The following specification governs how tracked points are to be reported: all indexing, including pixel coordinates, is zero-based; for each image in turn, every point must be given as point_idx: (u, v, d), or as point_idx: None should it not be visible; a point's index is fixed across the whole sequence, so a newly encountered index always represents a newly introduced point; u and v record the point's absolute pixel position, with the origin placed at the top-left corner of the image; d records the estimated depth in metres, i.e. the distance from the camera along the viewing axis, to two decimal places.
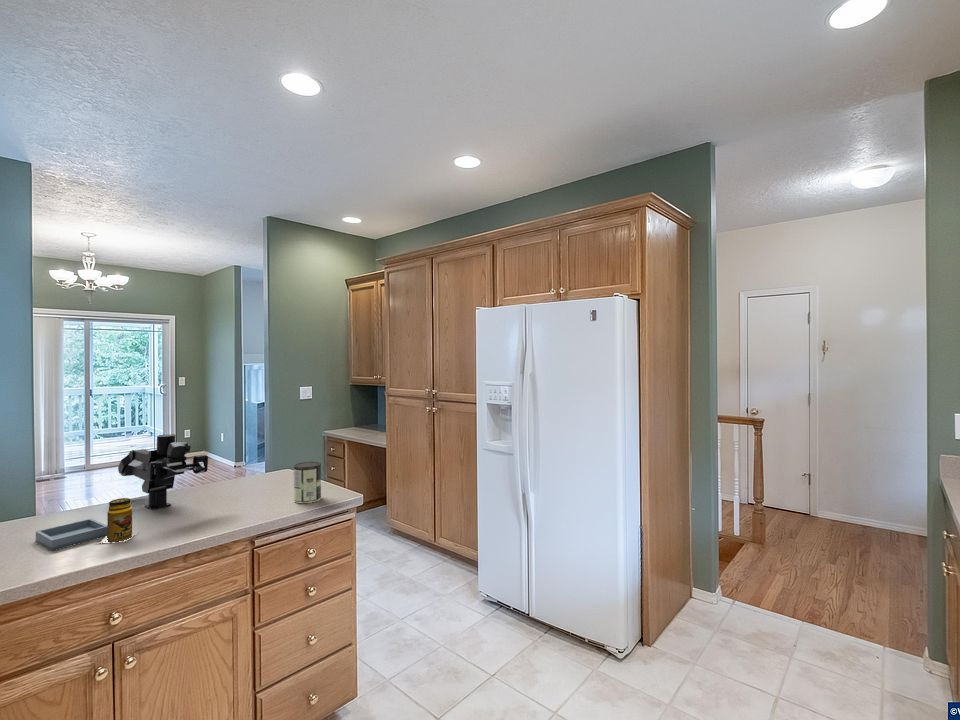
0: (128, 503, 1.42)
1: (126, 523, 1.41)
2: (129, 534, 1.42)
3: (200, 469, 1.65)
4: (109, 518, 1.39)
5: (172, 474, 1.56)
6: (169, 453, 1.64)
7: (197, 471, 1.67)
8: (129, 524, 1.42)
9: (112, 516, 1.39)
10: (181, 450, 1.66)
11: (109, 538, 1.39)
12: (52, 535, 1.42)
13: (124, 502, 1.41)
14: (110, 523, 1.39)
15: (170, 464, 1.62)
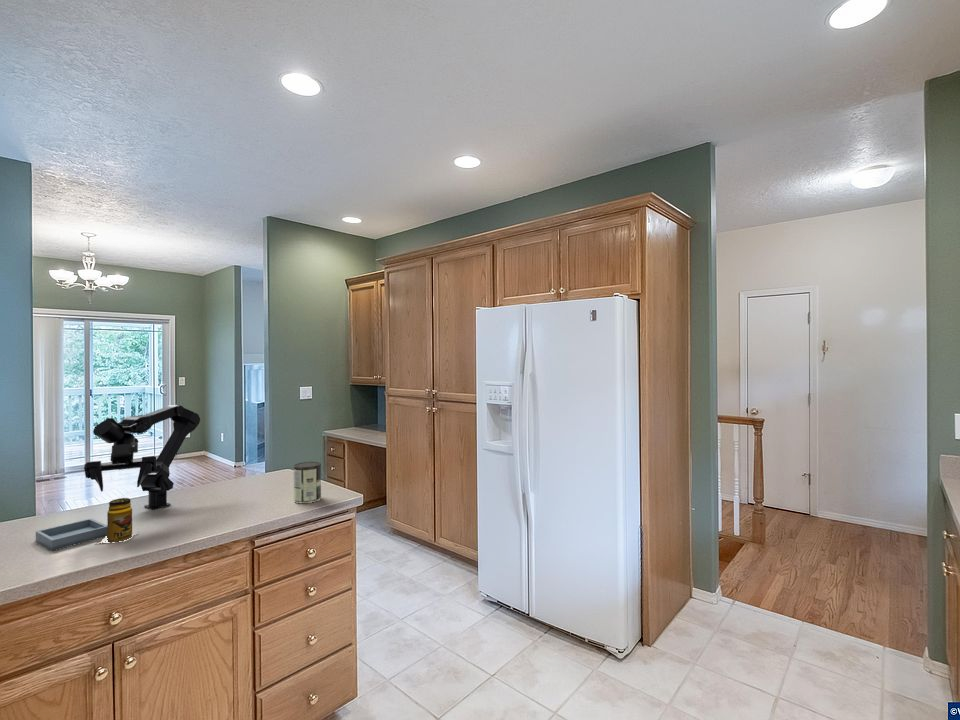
0: (128, 503, 1.42)
1: (126, 523, 1.41)
2: (129, 534, 1.42)
3: (138, 480, 1.53)
4: (109, 518, 1.39)
5: (100, 488, 1.47)
6: (112, 453, 1.51)
7: None
8: (129, 524, 1.42)
9: (112, 516, 1.39)
10: (124, 454, 1.52)
11: (109, 538, 1.39)
12: (52, 535, 1.42)
13: (124, 502, 1.41)
14: (110, 523, 1.39)
15: (111, 465, 1.52)
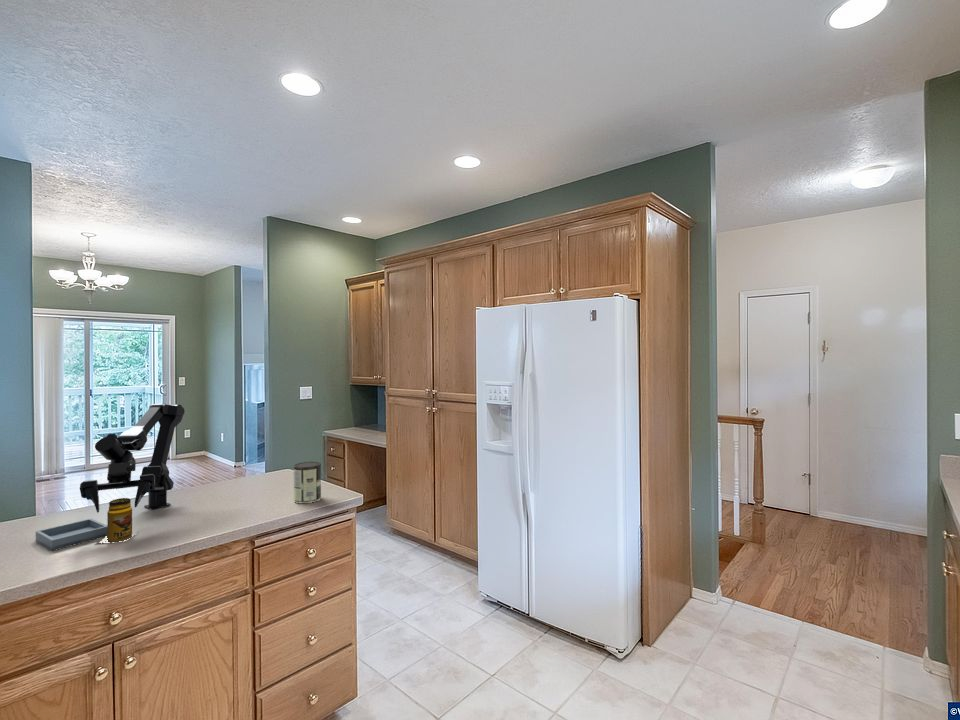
0: (128, 503, 1.42)
1: (126, 523, 1.41)
2: (129, 534, 1.42)
3: None
4: (109, 518, 1.39)
5: (96, 509, 1.41)
6: None
7: None
8: (129, 524, 1.42)
9: (112, 516, 1.39)
10: (121, 473, 1.46)
11: (109, 538, 1.39)
12: (52, 535, 1.42)
13: (124, 502, 1.41)
14: (110, 523, 1.39)
15: (107, 484, 1.46)
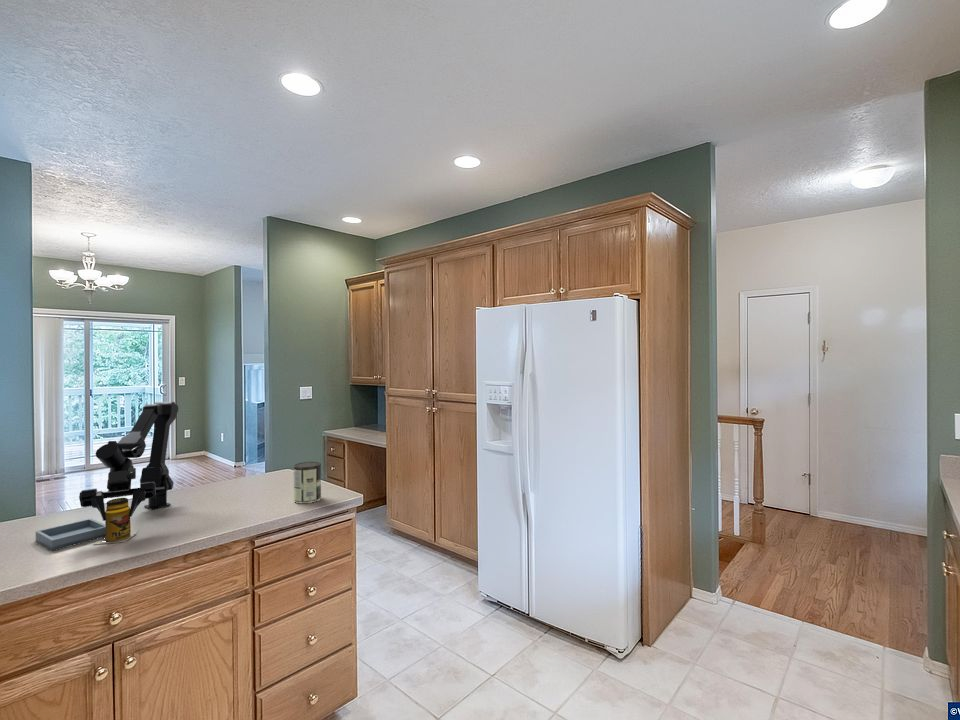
0: (125, 503, 1.42)
1: (124, 522, 1.41)
2: (127, 534, 1.42)
3: None
4: (107, 518, 1.39)
5: (102, 517, 1.40)
6: None
7: None
8: (127, 523, 1.42)
9: (110, 516, 1.39)
10: (121, 481, 1.44)
11: (107, 538, 1.39)
12: (52, 535, 1.42)
13: (121, 502, 1.41)
14: (108, 523, 1.39)
15: (107, 492, 1.44)
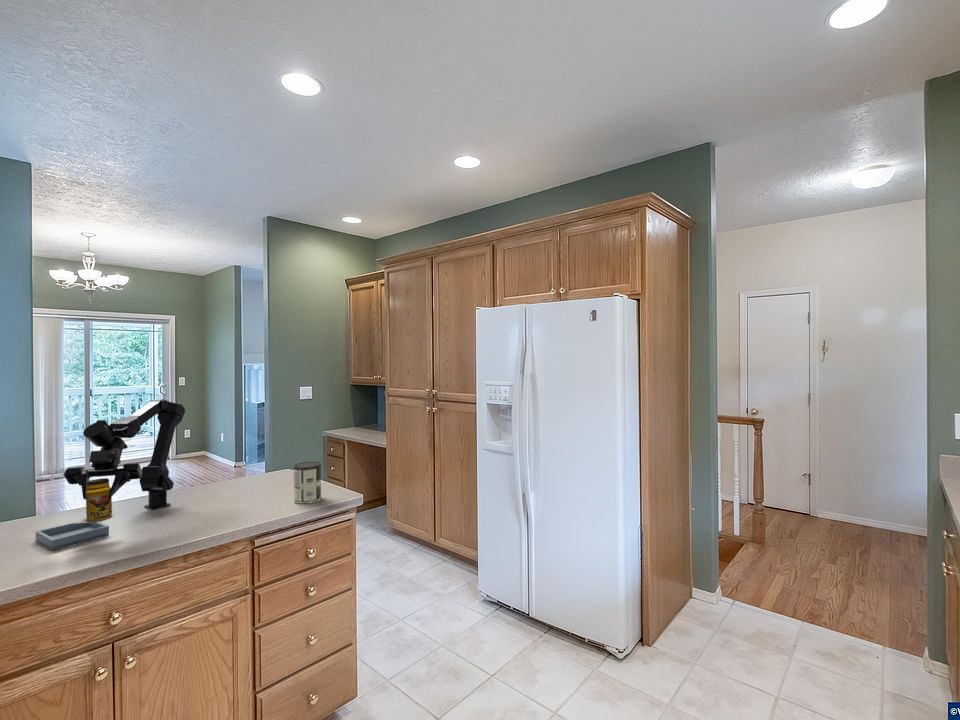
0: (105, 483, 1.41)
1: (103, 503, 1.40)
2: (107, 514, 1.41)
3: None
4: (86, 497, 1.39)
5: None
6: None
7: None
8: (106, 504, 1.41)
9: (88, 495, 1.38)
10: (103, 460, 1.43)
11: (87, 518, 1.39)
12: (52, 535, 1.42)
13: (100, 482, 1.40)
14: (87, 503, 1.38)
15: (92, 471, 1.44)
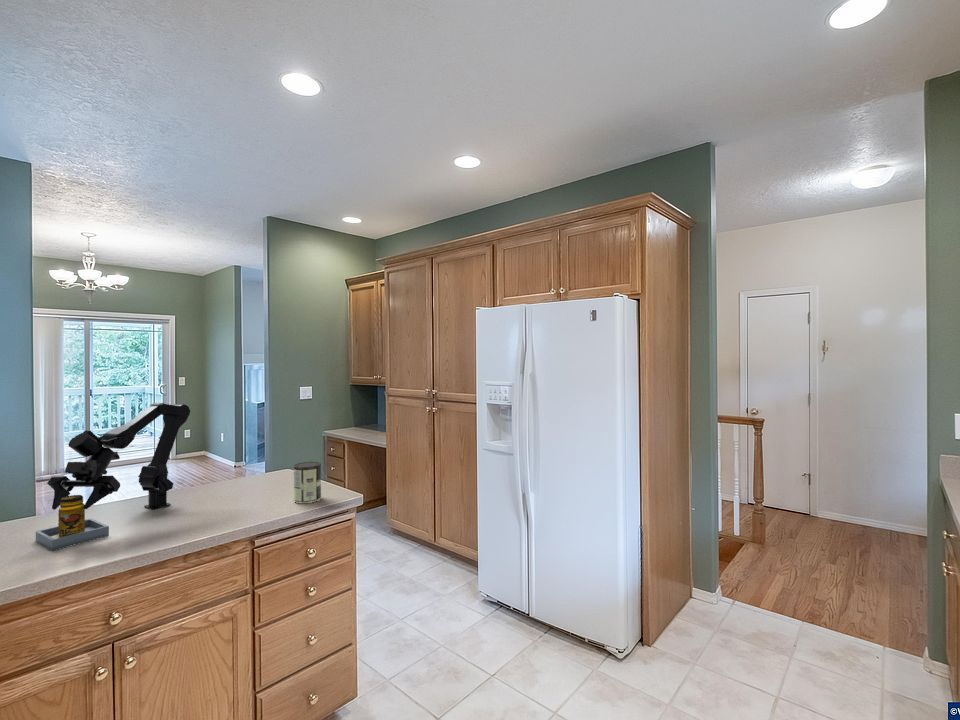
0: (75, 501, 1.41)
1: (71, 521, 1.40)
2: (75, 533, 1.40)
3: None
4: (58, 514, 1.40)
5: None
6: None
7: None
8: (75, 522, 1.40)
9: (59, 512, 1.39)
10: (79, 472, 1.44)
11: (59, 534, 1.40)
12: (52, 535, 1.42)
13: (70, 500, 1.40)
14: (58, 519, 1.40)
15: (73, 481, 1.46)
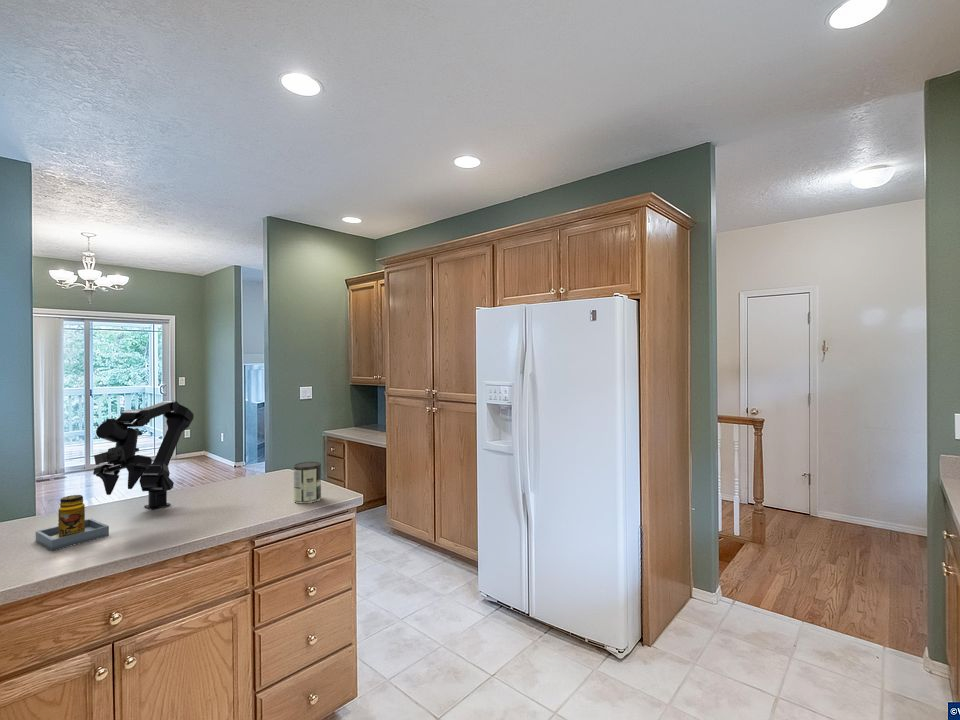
0: (75, 501, 1.41)
1: (71, 521, 1.40)
2: (75, 533, 1.40)
3: None
4: (58, 514, 1.40)
5: None
6: None
7: None
8: (75, 522, 1.40)
9: (59, 512, 1.39)
10: None
11: (59, 534, 1.40)
12: (52, 535, 1.42)
13: (70, 500, 1.40)
14: (58, 519, 1.40)
15: (112, 467, 1.55)
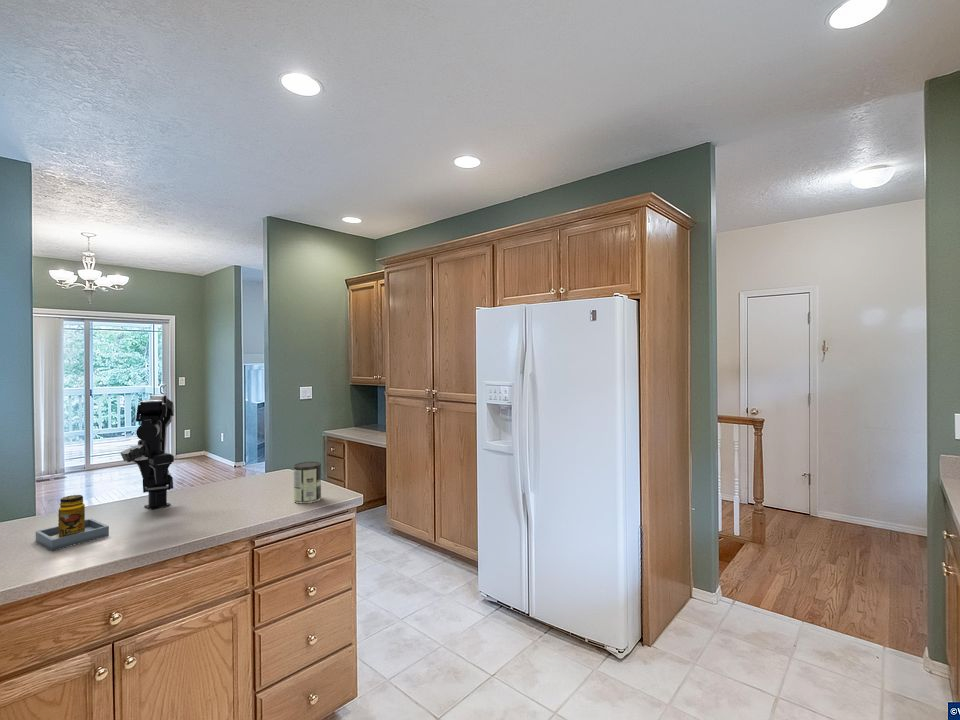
0: (75, 501, 1.41)
1: (71, 521, 1.40)
2: (75, 533, 1.40)
3: None
4: (58, 514, 1.40)
5: None
6: None
7: None
8: (75, 522, 1.40)
9: (59, 512, 1.39)
10: None
11: (59, 534, 1.40)
12: (52, 535, 1.42)
13: (70, 500, 1.40)
14: (58, 519, 1.40)
15: None
